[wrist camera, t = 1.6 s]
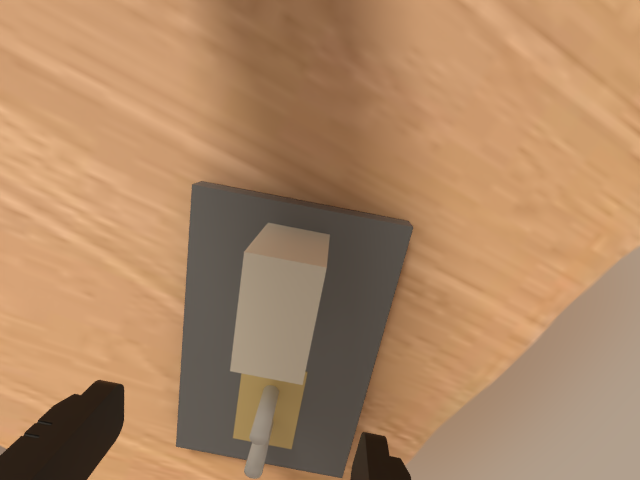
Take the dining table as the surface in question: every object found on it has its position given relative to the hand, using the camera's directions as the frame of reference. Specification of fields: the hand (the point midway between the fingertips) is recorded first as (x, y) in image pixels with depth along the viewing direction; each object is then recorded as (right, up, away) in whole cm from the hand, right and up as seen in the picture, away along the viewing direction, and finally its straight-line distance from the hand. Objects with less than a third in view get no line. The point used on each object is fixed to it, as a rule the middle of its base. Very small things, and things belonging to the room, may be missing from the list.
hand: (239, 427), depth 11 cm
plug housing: (+1, +4, +11) cm, 12 cm away
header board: (0, -2, +14) cm, 14 cm away
